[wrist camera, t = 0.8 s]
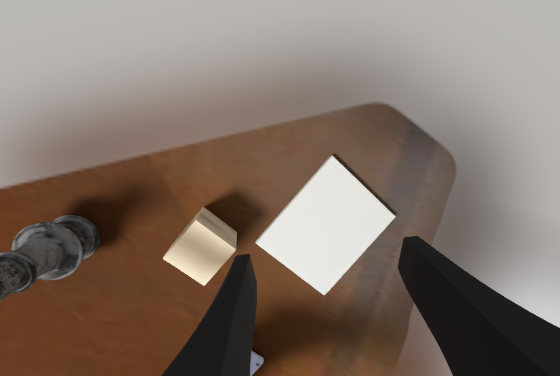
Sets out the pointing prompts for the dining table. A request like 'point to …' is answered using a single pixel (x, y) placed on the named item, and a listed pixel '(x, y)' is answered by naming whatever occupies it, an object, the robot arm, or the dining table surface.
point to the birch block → (202, 247)
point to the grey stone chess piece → (47, 252)
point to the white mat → (326, 226)
